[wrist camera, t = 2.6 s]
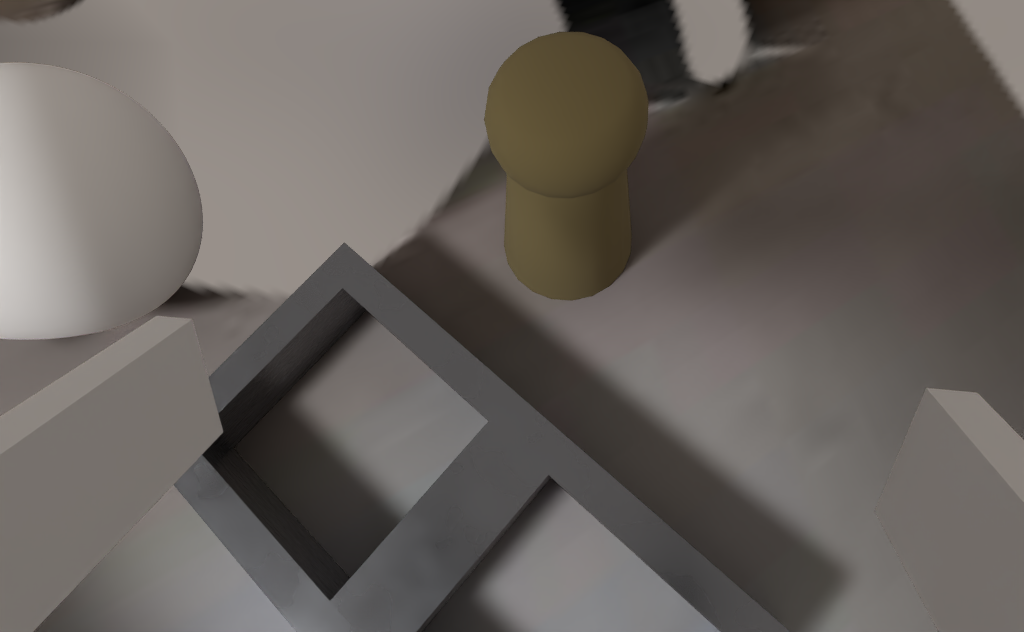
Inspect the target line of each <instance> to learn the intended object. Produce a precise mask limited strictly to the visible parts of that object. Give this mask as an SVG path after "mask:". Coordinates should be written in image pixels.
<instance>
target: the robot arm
mask: <svg viewBox="0 0 1024 632" xmlns="http://www.w3.org/2000/svg"><path fill="white" fill-rule="evenodd" d="M222 433H223V429H222V425H221V421H220V418H219V414H218V410H217V407H216V403H215V400H214V396H213V392H212V389H211V385H210V381H209V378H208V374H207V370H206V367H205V363H204V359H203V356H202V352H201V348H200V345H199V341H198V338H197V334H196V330H195V327H194V323H193V319H186V318H176V317H165V316H156V317H154V318H152V319H151V320H149V321H148V322H146V323H145V324H143V325H142V326H140V327H138V328H137V329H135V330H134V331H132V332H131V333H129V334H128V335H126V336H124V337H123V338H121V339H120V340H118V341H117V342H115V343H114V344H112V345H110V346H109V347H107V348H106V349H104V350H103V351H101V352H100V353H98V354H96V355H95V356H93V357H92V358H90V359H89V360H87V361H86V362H84V363H82V364H81V365H79V366H78V367H76V368H75V369H73V370H72V371H70V372H68V373H67V374H65V375H64V376H62V377H61V378H59V379H58V380H56V381H54V382H53V383H51V384H50V385H48V386H47V387H45V388H44V389H42V390H40V391H39V392H37V393H36V394H34V395H33V396H31V397H30V398H28V399H26V400H25V401H23V402H22V403H20V404H19V405H17V406H16V407H14V408H12V409H11V410H9V411H8V412H6V413H5V414H3V415H2V416H0V632H34V630H35V629H36V628H37V627H38V626H39V625H40V624H41V623H42V622H43V621H44V620H45V619H46V618H47V617H48V616H49V615H50V614H51V613H52V612H53V611H54V609H55V608H56V607H57V606H58V605H59V604H60V603H61V602H62V601H63V600H64V599H65V598H66V597H67V596H68V595H69V594H70V593H71V592H72V591H73V589H74V588H75V587H76V586H77V585H78V584H79V583H80V582H81V581H82V580H83V579H84V578H85V577H86V576H87V575H88V574H89V573H90V572H91V571H92V570H93V568H94V567H95V566H96V565H97V564H98V563H99V562H100V561H101V560H102V559H103V558H104V557H105V556H106V555H107V554H108V553H109V552H110V551H111V550H112V549H113V547H114V546H115V545H116V544H117V543H118V542H119V541H120V540H121V539H122V538H123V537H124V536H125V535H126V534H127V533H128V532H129V531H130V530H131V529H132V528H133V526H134V525H135V524H136V523H137V522H138V521H139V520H140V519H141V518H142V517H143V516H144V515H145V514H146V513H147V512H148V511H149V510H150V509H151V508H152V507H153V505H154V504H155V503H156V502H157V501H158V500H159V499H160V498H161V497H162V496H163V495H164V494H165V493H166V492H167V491H168V490H169V489H170V488H171V487H172V486H173V484H174V483H175V482H176V481H177V480H178V479H179V478H180V477H181V476H182V475H183V474H184V473H185V472H186V471H187V470H188V469H189V468H190V467H191V466H192V465H193V463H194V462H195V461H196V460H197V459H198V458H199V457H200V456H201V455H202V454H203V453H204V452H205V451H206V450H207V449H208V448H209V447H210V446H211V445H212V444H213V442H214V441H215V440H216V439H217V438H218V437H219V436H220V435H221V434H222ZM875 513H876V515H877V517H878V519H879V521H880V523H881V525H882V527H883V528H884V530H885V532H886V534H887V536H888V538H889V540H890V542H891V543H892V545H893V547H894V549H895V551H896V553H897V555H898V557H899V559H900V560H901V562H902V564H903V566H904V568H905V570H906V572H907V574H908V575H909V577H910V579H911V581H912V583H913V585H914V587H915V589H916V590H917V592H918V594H919V596H920V598H921V600H922V602H923V604H924V606H925V607H926V609H927V611H928V613H929V615H930V617H931V619H932V621H933V622H934V624H935V626H936V628H937V630H938V632H1024V440H1023V439H1022V438H1021V437H1020V436H1019V435H1018V434H1017V433H1016V432H1015V431H1014V430H1013V429H1012V428H1011V427H1010V426H1009V425H1008V423H1007V422H1006V421H1005V420H1004V419H1003V418H1002V417H1001V416H1000V415H999V414H998V413H997V412H996V411H995V410H994V409H993V408H992V407H991V406H990V405H989V404H988V403H987V402H986V401H985V400H984V399H983V398H982V397H981V396H980V395H979V394H978V393H975V392H964V391H954V390H943V389H932V388H926V389H925V392H924V394H923V396H922V399H921V401H920V403H919V406H918V408H917V411H916V413H915V415H914V418H913V420H912V423H911V425H910V427H909V430H908V432H907V434H906V437H905V439H904V442H903V444H902V446H901V449H900V451H899V454H898V456H897V458H896V461H895V463H894V465H893V468H892V470H891V473H890V475H889V477H888V480H887V482H886V485H885V487H884V489H883V492H882V494H881V497H880V499H879V501H878V504H877V506H876V508H875Z"/></svg>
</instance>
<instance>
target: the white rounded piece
mask: <svg viewBox="0 0 1024 632" xmlns="http://www.w3.org/2000/svg"><path fill="white" fill-rule="evenodd" d="M202 226H203V216H202V205H201V199H200V194H199V190H198V187H197V184H196V181H195V178H194V175H193V173H192V170H191V168H190V166H189V164H188V162H187V160H186V158H185V156H184V154H183V153H182V151H181V149H180V148H179V146H178V145H177V143H176V142H175V140H174V139H173V138H172V136H171V135H170V134H169V133H168V131H167V130H166V129H165V128H164V127H163V126H162V124H160V122H159V121H158V120H157V119H156V118H155V117H154V116H153V115H152V114H151V113H150V112H148V111H147V110H146V109H145V108H144V107H142V106H141V105H140V104H139V103H138V102H136V101H135V100H134V99H132V98H131V97H129V96H128V95H126V94H125V93H123V92H121V91H120V90H118V89H116V88H115V87H113V86H111V85H109V84H107V83H105V82H103V81H101V80H98V79H96V78H94V77H92V76H89V75H86V74H83V73H81V72H77V71H74V70H71V69H67V68H62V67H58V66H52V65H47V64H38V63H24V62H9V63H0V339H22V340H27V339H53V338H65V337H73V336H80V335H86V334H92V333H97V332H101V331H105V330H109V329H112V328H115V327H119V326H122V325H124V324H127V323H129V322H132V321H134V320H137V319H139V318H141V317H143V316H145V315H146V314H148V313H150V312H152V311H153V310H155V309H156V308H158V307H159V306H160V305H162V304H163V303H164V302H166V301H167V300H168V299H169V298H170V297H171V296H172V295H173V294H174V293H175V292H176V291H177V290H178V289H179V288H180V286H181V285H182V284H183V283H184V281H185V280H186V278H187V277H188V275H189V273H190V272H191V270H192V268H193V265H194V263H195V261H196V258H197V255H198V252H199V248H200V244H201V238H202V228H203V227H202Z"/></svg>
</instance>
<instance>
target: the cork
mask: <svg viewBox="0 0 1024 632" xmlns="http://www.w3.org/2000/svg"><path fill="white" fill-rule="evenodd" d="M484 121H485V125H486V130H487V134H488V139H489V143H490V147H491V151H492V153H493V154H494V156H495V157H496V159H497V160H498V162H499V163H500V165H501V166H502V168H503V169H504V171H505V172H506V173H507V186H506V212H505V237H504V247H505V252H506V256H507V261H508V264H509V266H510V267H511V269H512V271H513V272H514V274H515V275H516V277H517V279H518V280H519V281H521V282H522V283H523V284H524V285H526V286H527V287H528V288H529V289H530V290H532V291H533V292H535V293H538V294H540V295H543V296H546V297H548V298H551V299H560V300H576V299H581V298H585V297H589V296H593V295H595V294H596V293H598V292H600V291H602V290H603V289H605V288H607V287H609V286H610V285H611V284H612V283H613V282H614V281H615V280H616V278H617V277H618V276H619V275H620V274H621V273H622V272H623V270H624V268H625V266H626V263H627V261H628V259H629V256H630V254H631V237H632V234H631V220H630V206H629V191H628V177H627V168H628V167H629V166H630V164H631V163H632V162H633V160H634V159H635V157H636V155H637V153H638V151H639V148H640V146H641V144H642V142H643V139H644V137H645V133H646V129H647V121H648V98H647V93H646V89H645V87H644V84H643V81H642V78H641V75H640V72H639V71H638V69H637V68H636V67H635V66H634V65H633V63H632V62H631V61H630V60H629V59H628V57H627V56H626V55H625V54H624V53H623V52H622V50H621V49H620V48H618V47H616V46H615V45H613V44H612V43H610V42H608V41H607V40H605V39H604V38H601V37H597V36H594V35H590V34H587V33H583V32H557V33H554V34H549V35H545V36H541V37H538V38H536V39H534V40H532V41H530V42H528V43H526V44H525V45H523V46H521V47H519V48H518V49H517V50H516V51H515V52H514V53H513V54H512V55H511V56H510V57H509V58H508V59H507V60H506V61H505V62H504V63H503V64H502V66H501V67H500V68H499V70H498V72H497V74H496V76H495V78H494V79H493V81H492V83H491V85H490V87H489V91H488V97H487V105H486V111H485V118H484Z"/></svg>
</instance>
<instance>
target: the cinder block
mask: <svg viewBox="0 0 1024 632" xmlns="http://www.w3.org/2000/svg"><path fill="white" fill-rule="evenodd" d="M366 310H367V311H368V312H369V313H370V314H371V315H372V316H373V317H374V318H376V319H377V320H378V321H379V322H380V323H381V324H382V325H383V326H384V327H386V328H387V329H388V330H389V331H390V332H391V333H392V334H393V335H394V336H395V337H397V338H398V339H399V340H400V341H401V342H402V343H403V344H404V345H405V346H406V347H408V348H409V349H410V350H411V351H412V352H413V353H414V354H415V355H416V356H417V357H419V358H420V359H421V360H422V361H423V362H424V363H425V364H426V365H427V366H428V367H430V368H431V369H432V370H433V371H434V372H435V373H436V374H437V375H438V376H440V377H441V378H442V379H443V380H444V381H445V382H446V383H447V384H448V385H449V386H451V387H452V388H453V389H454V390H455V391H456V392H457V393H458V394H459V395H460V396H462V397H463V398H464V399H465V400H466V401H467V402H468V403H469V404H470V405H471V406H473V407H474V408H475V409H476V410H477V411H478V412H479V413H480V414H481V415H483V416H484V417H485V418H486V419H487V420H488V423H487V424H486V425H485V426H484V427H483V428H482V429H481V430H480V432H479V433H478V434H477V435H476V436H475V437H474V438H473V440H472V441H471V442H470V443H469V444H468V445H467V446H466V447H465V449H464V450H463V451H462V452H461V453H460V454H459V455H458V457H457V458H456V459H455V460H454V461H453V462H452V463H451V464H450V466H449V467H448V468H447V469H446V470H445V471H444V472H443V474H442V475H441V476H440V477H439V478H438V479H437V480H436V481H435V483H434V484H433V485H432V486H431V487H430V488H429V489H428V491H427V492H426V493H425V494H424V495H423V496H422V497H421V498H420V500H419V501H418V502H417V503H416V504H415V505H414V506H413V508H412V509H411V510H410V511H409V512H408V513H407V514H406V515H405V517H404V518H403V519H402V520H401V521H400V522H399V523H398V525H397V526H396V527H395V528H394V529H393V530H392V531H391V532H390V534H389V535H388V536H387V537H386V538H385V539H384V540H383V542H382V543H381V544H380V545H379V546H378V547H377V548H376V549H375V551H374V552H373V553H372V554H371V555H370V556H369V557H368V559H367V560H366V561H365V562H364V563H363V564H362V565H361V566H360V568H359V569H358V570H357V571H356V572H355V573H354V574H353V576H352V577H351V578H349V577H348V576H347V575H346V573H345V572H344V571H343V570H342V569H341V568H340V567H339V566H338V565H337V563H336V562H335V561H334V560H333V559H332V558H331V557H330V556H329V555H328V553H327V552H326V551H325V550H324V549H323V548H322V547H321V546H320V545H319V543H318V542H317V541H316V540H315V539H314V538H313V537H312V536H311V535H310V533H309V532H308V531H307V530H306V529H305V528H304V527H303V526H302V524H301V523H300V522H299V521H298V520H297V519H296V518H295V517H294V516H293V514H292V513H291V512H290V511H289V510H288V509H287V508H286V507H285V506H284V504H283V503H282V502H281V501H280V500H279V499H278V498H277V497H276V496H275V494H274V493H273V492H272V491H271V490H270V489H269V488H268V487H267V486H266V484H265V483H264V482H263V481H262V480H261V479H260V478H259V477H258V476H257V474H256V473H255V472H254V471H253V470H252V469H251V468H250V467H249V466H248V464H247V463H246V462H245V461H244V460H243V459H242V458H241V457H240V455H239V454H238V453H237V452H236V451H235V450H234V449H233V448H234V446H235V445H236V444H237V443H238V442H239V441H240V440H241V439H242V438H243V437H244V436H245V435H246V434H247V433H248V432H249V431H250V430H251V429H252V428H253V427H254V426H255V425H256V424H257V423H258V422H259V421H260V420H261V419H262V418H263V417H264V416H265V415H266V413H267V412H268V411H269V410H270V409H271V408H272V407H273V406H274V405H275V404H276V403H277V402H278V401H279V400H280V399H281V398H282V397H283V396H284V395H285V394H286V393H287V392H288V391H289V390H290V389H291V388H292V387H293V386H294V385H295V384H296V383H297V382H298V380H299V379H300V378H301V377H302V376H303V375H304V374H305V373H306V372H307V371H308V370H309V369H310V368H311V367H312V366H313V365H314V364H315V363H316V362H317V361H318V360H319V359H320V358H321V357H322V356H323V355H324V354H325V353H326V352H327V351H328V350H329V349H330V347H331V346H332V345H333V344H334V343H335V342H336V341H337V340H338V339H339V338H340V337H341V336H342V335H343V334H344V333H345V332H346V331H347V330H348V329H349V328H350V327H351V326H352V325H353V324H354V323H355V322H356V321H357V320H358V319H359V318H360V317H361V316H362V315H363V313H364V312H365V311H366ZM209 381H210V385H211V389H212V392H213V396H214V400H215V403H216V407H217V410H218V414H219V418H220V421H221V425H222V429H223V433H222V434H221V435H220V436H219V437H218V438H217V439H216V440H215V441H214V442H213V444H212V445H211V446H210V447H209V448H208V449H207V450H206V451H205V452H204V453H203V454H202V455H201V456H200V457H199V458H198V459H197V460H196V461H195V462H194V463H193V465H192V466H191V467H190V468H189V469H188V470H187V471H186V472H185V473H184V474H183V475H182V476H181V477H180V478H179V479H178V480H177V481H176V482H175V483H174V484H173V485H174V486H175V487H176V488H177V489H178V491H179V492H180V493H181V494H182V495H183V497H184V498H185V499H186V500H187V501H188V503H189V504H190V505H191V506H192V507H193V509H194V510H195V511H196V512H197V513H198V515H199V516H200V517H201V518H202V519H203V521H204V522H205V523H206V524H207V525H208V527H209V528H210V529H211V530H212V531H213V533H214V534H215V535H216V536H217V537H218V539H219V540H220V541H221V542H222V543H223V545H224V546H225V547H226V548H227V549H228V551H229V552H230V553H231V554H232V555H233V557H234V558H235V559H236V560H237V561H238V563H239V564H240V565H241V566H242V567H243V569H244V570H245V571H246V572H247V573H248V574H249V576H250V577H251V578H252V579H253V580H254V582H255V583H256V584H257V585H258V586H259V588H260V589H261V590H262V591H263V592H264V594H265V595H266V596H267V597H268V598H269V600H270V601H271V602H272V603H273V604H274V606H275V607H276V608H277V609H278V610H279V612H280V613H281V614H282V615H283V616H284V618H285V619H286V620H287V621H288V622H289V624H290V625H291V626H292V627H293V628H294V630H295V631H296V632H422V631H423V630H424V629H425V628H426V626H427V625H428V624H429V623H430V622H431V620H432V619H433V618H434V617H435V616H436V614H437V613H438V612H439V611H440V610H441V608H442V607H443V606H444V605H445V604H446V603H447V601H448V600H449V599H450V598H451V597H452V595H453V594H454V593H455V592H456V591H457V589H458V588H459V587H460V586H461V585H462V583H463V582H464V581H465V580H466V579H467V578H468V576H469V575H470V574H471V573H472V572H473V570H474V569H475V568H476V567H477V566H478V564H479V563H480V562H481V561H482V560H483V558H484V557H485V556H486V555H487V554H488V553H489V551H490V550H491V549H492V548H493V547H494V545H495V544H496V543H497V542H498V541H499V539H500V538H501V537H502V536H503V535H504V533H505V532H506V531H507V530H508V529H509V528H510V526H511V525H512V524H513V523H514V522H515V520H516V519H517V518H518V517H519V516H520V514H521V513H522V512H523V511H524V510H525V508H526V507H527V506H528V505H529V504H530V503H531V501H532V500H533V499H534V498H535V497H536V495H537V494H538V493H539V492H540V491H541V489H542V488H543V487H544V486H545V485H546V483H547V482H548V481H549V480H550V479H551V478H552V479H553V480H554V481H555V482H556V483H557V484H559V485H560V486H561V487H562V488H563V489H564V490H565V491H566V492H567V493H568V494H570V495H571V496H572V497H573V498H574V499H575V500H576V501H577V502H578V503H579V504H581V505H582V506H583V507H584V508H585V509H586V510H587V511H588V512H589V513H591V514H592V515H593V516H594V517H595V518H596V519H597V520H598V521H599V522H600V523H602V524H603V525H604V526H605V527H606V528H607V529H608V530H609V531H610V532H611V533H613V534H614V535H615V536H616V537H617V538H618V539H619V540H620V541H621V542H622V543H624V544H625V545H626V546H627V547H628V548H629V549H630V550H631V551H632V552H634V553H635V554H636V555H637V556H638V557H639V558H640V559H641V560H642V561H643V562H645V563H646V564H647V565H648V566H649V567H650V568H651V569H652V570H653V571H654V572H656V573H657V574H658V575H659V576H660V577H661V578H662V579H663V580H664V581H665V582H667V583H668V584H669V585H670V586H671V587H672V588H673V589H674V590H675V591H676V592H678V593H679V594H680V595H681V596H682V597H683V598H684V599H685V600H686V601H688V602H689V603H690V604H691V605H692V606H693V607H694V608H695V609H696V610H697V611H699V612H700V613H701V614H702V615H703V616H704V617H705V618H706V619H707V620H708V621H710V622H711V623H712V624H713V625H714V626H715V627H716V628H717V629H718V630H719V631H721V632H790V631H789V630H788V629H787V628H785V627H784V626H783V625H782V624H781V623H780V622H779V621H777V620H776V619H775V618H774V617H773V616H772V615H771V614H769V613H768V612H767V611H766V610H765V609H764V608H763V607H761V606H760V605H759V604H758V603H757V602H756V601H755V600H753V599H752V598H751V597H750V596H749V595H748V594H747V593H745V592H744V591H743V590H742V589H741V588H740V587H738V586H737V585H736V584H735V583H734V582H733V581H732V580H730V579H729V578H728V577H727V576H726V575H725V574H724V573H722V572H721V571H720V570H719V569H718V568H717V567H716V566H714V565H713V564H712V563H711V562H710V561H709V560H708V559H706V558H705V557H704V556H703V555H702V554H701V553H700V552H698V551H697V550H696V549H695V548H694V547H693V546H692V545H690V544H689V543H688V542H687V541H686V540H685V539H683V538H682V537H681V536H680V535H679V534H678V533H677V532H675V531H674V530H673V529H672V528H671V527H670V526H669V525H667V524H666V523H665V522H664V521H663V520H662V519H661V518H659V517H658V516H657V515H656V514H655V513H654V512H653V511H651V510H650V509H649V508H648V507H647V506H646V505H645V504H643V503H642V502H641V501H640V500H639V499H638V498H637V497H635V496H634V495H633V494H632V493H631V492H630V491H628V490H627V489H626V488H625V487H624V486H623V485H622V484H620V483H619V482H618V481H617V480H616V479H615V478H614V477H612V476H611V475H610V474H609V473H608V472H607V471H606V470H604V469H603V468H602V467H601V466H600V465H599V464H598V463H596V462H595V461H594V460H593V459H592V458H591V457H590V456H588V455H587V454H586V453H585V452H584V451H583V450H581V449H580V448H579V447H578V446H577V445H576V444H575V443H573V442H572V441H571V440H570V439H569V438H568V437H567V436H565V435H564V434H563V433H562V432H561V431H560V430H559V429H557V428H556V427H555V426H554V425H553V424H552V423H551V422H549V421H548V420H547V419H546V418H545V417H544V416H543V415H541V414H540V413H539V412H538V411H537V410H536V409H535V408H533V407H532V406H531V405H530V404H529V403H528V402H526V401H525V400H524V399H523V398H522V397H521V396H520V395H518V394H517V393H516V392H515V391H514V390H513V389H512V388H510V387H509V386H508V385H507V384H506V383H505V382H504V381H502V380H501V379H500V378H499V377H498V376H497V375H496V374H494V373H493V372H492V371H491V370H490V369H489V368H488V367H486V366H485V365H484V364H483V363H482V362H481V361H479V360H478V359H477V358H476V357H475V356H474V355H473V354H471V353H470V352H469V351H468V350H467V349H466V348H465V347H463V346H462V345H461V344H460V343H459V342H458V341H457V340H455V339H454V338H453V337H452V336H451V335H450V334H449V333H447V332H446V331H445V330H444V329H443V328H442V327H441V326H439V325H438V324H437V323H436V322H435V321H434V320H433V319H431V318H430V317H429V316H428V315H427V314H426V313H424V312H423V311H422V310H421V309H420V308H419V307H418V306H416V305H415V304H414V303H413V302H412V301H411V300H410V299H408V298H407V297H406V296H405V295H404V294H403V293H402V292H400V291H399V290H398V289H397V288H396V287H395V286H394V285H392V284H391V283H390V282H389V281H388V280H387V279H386V278H384V277H383V276H382V275H381V274H380V273H379V272H377V271H376V270H375V269H374V268H373V267H372V266H371V265H369V264H368V263H367V262H366V261H365V260H364V259H363V258H361V257H360V256H359V255H358V254H357V253H356V252H355V251H353V250H352V249H351V248H350V247H348V245H347V244H345V243H343V244H342V245H341V246H340V247H339V248H338V249H337V250H336V251H335V252H334V253H333V254H332V255H331V256H330V257H329V258H328V259H327V260H326V261H325V262H324V263H323V264H322V265H321V266H320V267H319V268H318V269H317V270H316V271H315V272H314V273H313V274H312V275H311V276H310V277H309V278H308V279H307V280H306V281H305V282H304V283H303V284H302V285H301V286H300V287H299V288H298V289H297V290H296V291H295V292H294V293H293V294H292V295H291V296H290V297H289V298H288V299H287V300H286V301H285V302H284V303H283V304H282V305H281V306H280V307H279V308H278V309H277V310H276V311H275V312H274V313H273V314H272V315H271V316H270V317H269V318H268V319H267V320H266V321H265V322H264V323H263V324H262V325H261V326H260V327H259V328H258V329H257V330H256V331H255V332H254V333H253V334H252V335H251V336H250V337H249V338H248V339H247V340H246V341H245V342H244V343H243V344H242V345H241V346H240V347H239V348H238V349H237V350H236V351H235V352H234V353H233V354H232V355H231V356H230V357H229V358H228V359H227V360H226V361H225V362H224V363H223V364H222V365H221V366H220V367H219V368H218V369H217V370H216V371H215V372H214V373H213V374H212V375H211V376H210V377H209Z"/></svg>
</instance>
